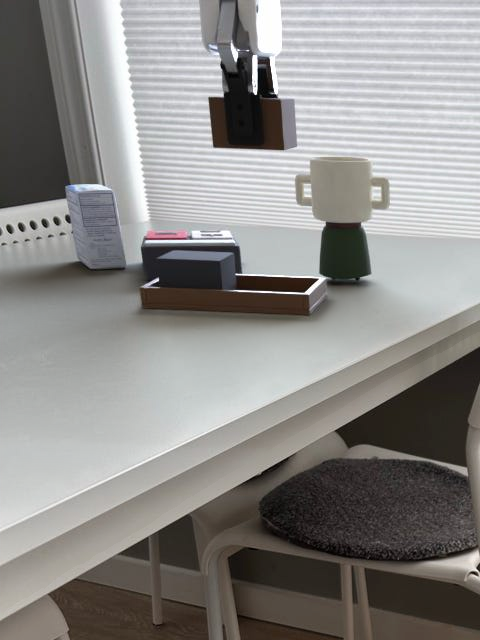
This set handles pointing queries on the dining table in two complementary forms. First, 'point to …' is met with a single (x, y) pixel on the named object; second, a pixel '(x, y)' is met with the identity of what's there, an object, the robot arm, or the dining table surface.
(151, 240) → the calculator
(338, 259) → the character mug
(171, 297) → the tray
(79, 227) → the medicine box
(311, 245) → the dining table surface
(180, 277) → the pad
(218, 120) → the pad
